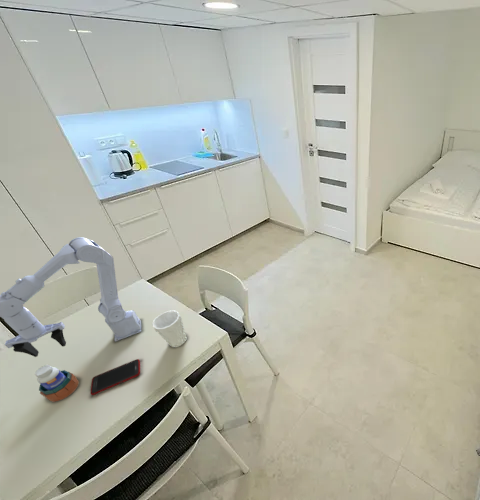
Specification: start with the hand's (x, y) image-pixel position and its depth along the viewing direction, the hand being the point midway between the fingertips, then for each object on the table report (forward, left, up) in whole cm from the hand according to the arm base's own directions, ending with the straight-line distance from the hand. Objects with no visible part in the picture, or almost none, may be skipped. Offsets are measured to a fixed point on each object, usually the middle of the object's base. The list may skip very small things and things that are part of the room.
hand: (50, 349), depth 103 cm
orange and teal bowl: (0, +11, -10) cm, 15 cm away
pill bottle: (0, +11, -8) cm, 14 cm away
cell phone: (-16, +16, -10) cm, 25 cm away
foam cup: (-37, +11, -11) cm, 40 cm away
